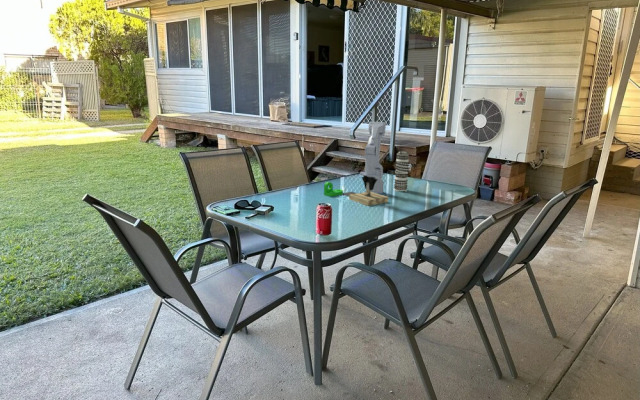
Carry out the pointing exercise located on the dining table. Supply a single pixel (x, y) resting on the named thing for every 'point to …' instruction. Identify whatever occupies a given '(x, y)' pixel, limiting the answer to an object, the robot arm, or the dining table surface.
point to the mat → (348, 193)
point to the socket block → (368, 198)
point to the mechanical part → (331, 190)
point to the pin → (368, 190)
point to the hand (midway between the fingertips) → (369, 189)
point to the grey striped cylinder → (401, 171)
